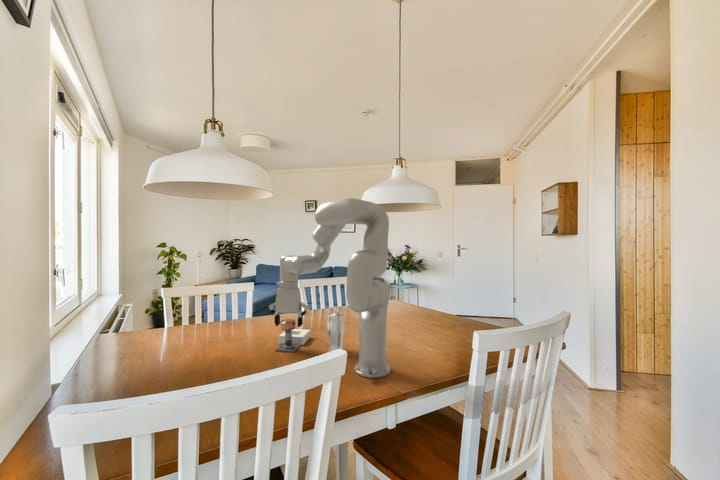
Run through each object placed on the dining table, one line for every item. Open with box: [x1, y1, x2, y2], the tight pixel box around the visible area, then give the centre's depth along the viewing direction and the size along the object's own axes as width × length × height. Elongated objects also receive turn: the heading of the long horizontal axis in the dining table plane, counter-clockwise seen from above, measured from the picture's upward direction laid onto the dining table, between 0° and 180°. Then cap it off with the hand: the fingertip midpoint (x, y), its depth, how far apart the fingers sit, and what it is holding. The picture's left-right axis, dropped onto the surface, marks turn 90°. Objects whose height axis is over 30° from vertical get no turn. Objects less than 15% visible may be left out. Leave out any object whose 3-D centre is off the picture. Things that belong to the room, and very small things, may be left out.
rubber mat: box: [275, 344, 302, 354], centre depth 130 cm, size 8×8×1 cm
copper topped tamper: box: [280, 318, 297, 349], centre depth 130 cm, size 6×6×11 cm
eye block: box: [277, 328, 311, 346], centre depth 141 cm, size 11×11×4 cm
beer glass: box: [326, 312, 345, 352], centre depth 129 cm, size 7×7×15 cm
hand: (288, 325), depth 130 cm, fingers open, 9 cm apart
